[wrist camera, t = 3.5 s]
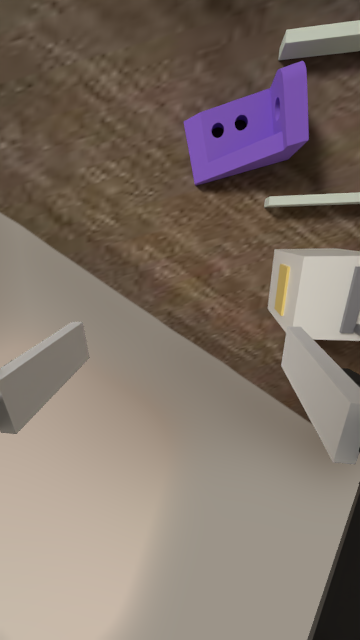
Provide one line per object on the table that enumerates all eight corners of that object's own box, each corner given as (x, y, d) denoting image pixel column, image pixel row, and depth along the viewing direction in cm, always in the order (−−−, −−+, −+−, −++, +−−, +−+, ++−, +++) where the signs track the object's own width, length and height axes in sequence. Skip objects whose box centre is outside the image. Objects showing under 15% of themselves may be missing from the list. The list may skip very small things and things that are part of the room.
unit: (272, 249, 33) (330, 264, 17) (334, 248, 32) (457, 263, 16) (265, 308, 36) (309, 367, 20) (321, 309, 35) (414, 372, 19)
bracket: (283, 93, 27) (305, 50, 21) (287, 160, 29) (308, 139, 23) (185, 127, 29) (178, 97, 23) (195, 186, 31) (191, 174, 25)
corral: (279, 48, 25) (286, 29, 23) (431, 30, 23) (455, 7, 21) (264, 207, 31) (268, 205, 29) (385, 202, 29) (400, 200, 27)
